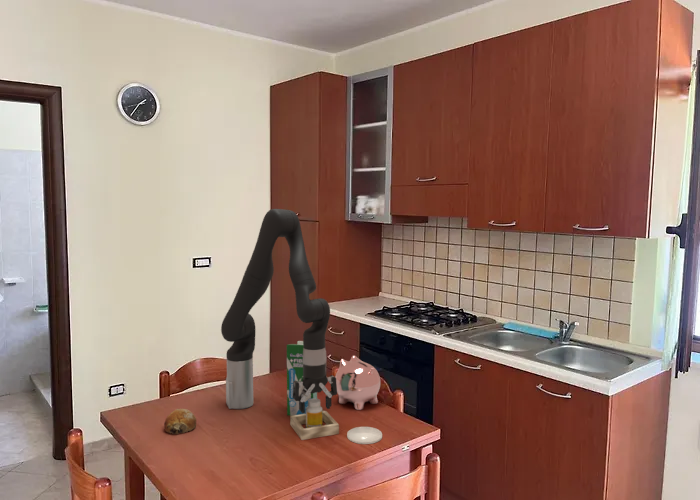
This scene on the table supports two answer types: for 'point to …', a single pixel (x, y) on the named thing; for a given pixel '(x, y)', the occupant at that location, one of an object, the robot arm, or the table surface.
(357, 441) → the coaster
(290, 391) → the milk carton
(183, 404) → the table surface
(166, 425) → the bread roll
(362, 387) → the piggy bank
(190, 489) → the table surface
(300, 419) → the frame
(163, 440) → the table surface
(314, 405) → the supplement bottle
